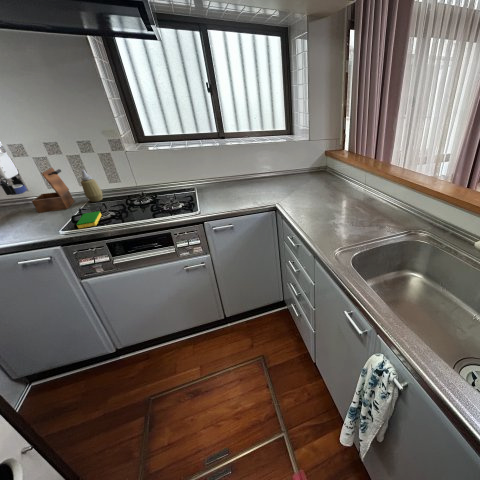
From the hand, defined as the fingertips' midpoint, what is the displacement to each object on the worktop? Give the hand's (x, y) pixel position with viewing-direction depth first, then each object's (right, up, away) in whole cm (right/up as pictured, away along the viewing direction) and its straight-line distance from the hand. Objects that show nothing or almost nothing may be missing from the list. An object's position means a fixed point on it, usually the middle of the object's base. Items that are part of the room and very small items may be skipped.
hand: (16, 191), depth 120 cm
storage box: (-11, -3, +30) cm, 32 cm away
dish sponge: (+23, -13, +13) cm, 29 cm away
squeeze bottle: (+4, +2, +38) cm, 39 cm away
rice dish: (0, -1, 0) cm, 1 cm away
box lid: (-7, +10, +25) cm, 27 cm away
